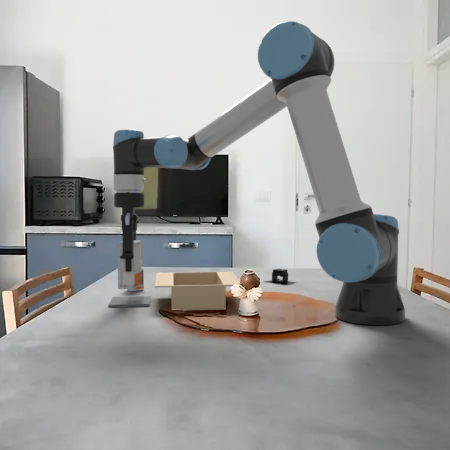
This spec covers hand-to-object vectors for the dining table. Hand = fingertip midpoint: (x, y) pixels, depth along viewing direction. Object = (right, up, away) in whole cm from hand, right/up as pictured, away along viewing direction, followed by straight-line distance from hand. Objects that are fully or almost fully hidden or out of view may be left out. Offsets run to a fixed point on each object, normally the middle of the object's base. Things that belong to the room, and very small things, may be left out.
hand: (130, 281), depth 136 cm
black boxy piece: (+42, -4, +31) cm, 52 cm away
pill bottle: (-2, -5, +18) cm, 19 cm away
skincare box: (0, -2, 0) cm, 2 cm away
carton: (+17, -5, +2) cm, 18 cm away
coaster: (0, -5, 0) cm, 5 cm away
